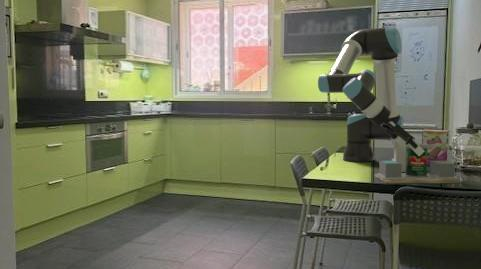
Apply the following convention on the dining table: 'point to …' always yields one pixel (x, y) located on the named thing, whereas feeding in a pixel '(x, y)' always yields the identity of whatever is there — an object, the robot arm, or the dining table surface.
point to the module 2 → (442, 168)
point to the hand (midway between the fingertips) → (414, 151)
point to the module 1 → (390, 168)
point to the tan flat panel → (404, 177)
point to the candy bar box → (436, 145)
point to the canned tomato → (416, 163)
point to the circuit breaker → (400, 154)
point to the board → (422, 181)
